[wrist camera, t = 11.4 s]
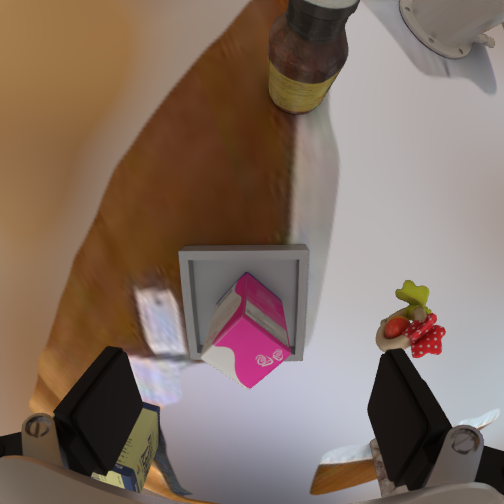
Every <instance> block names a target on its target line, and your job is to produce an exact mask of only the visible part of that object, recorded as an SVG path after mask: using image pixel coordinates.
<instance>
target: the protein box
mask: <svg viewBox="0 0 504 504" xmlns="http://www.w3.org/2000/svg"><path fill="white" fill-rule="evenodd" d="M54 416H55V414H54V415H53V416H52V418H53V417H54ZM159 442H160V407H158V406H154V405H151V404H148V403H144V402H143V409H142V411H141V413H140V415H139V417H138V419H137V421H136V423H135V425H134V427H133V429H132V431H131V434H130V436H129V438H128V440H127V442H126V444H125V446H124V448H123V450H122V452H121V454H120V456H119V458H118V460H117V462H116V464H115V466H114V468H113V470H112V471H109V472H108V474H107V476H106V477H105V476H102V475H99V474H97V473H94V472H93V473H92V475H91V477H92V478H93V479H96V480H99V481H102V482H105V483H108V484H111V485H114V486H117V487H120V488H124V489H127V490H130V491H134V492H138V493H141V492H142V489H143V486H144V483H145V481H146V478H147V475H148V472H149V469H150V466H151V464H152V461H153V458H154V455H155V453H156V450H157V447H158V445H159Z"/></svg>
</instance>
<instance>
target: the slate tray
mask: <svg viewBox="0 0 504 504" xmlns="http://www.w3.org/2000/svg"><path fill="white" fill-rule="evenodd" d="M179 263H180V274H181V285H182V295H183V304H184V313H185V321H186V329H187V337H188V344H189V351H190V358H191V359H196V360H202V359H201V358H200V356H201V353H202V349H203V346H204V343H205V340H206V336H207V333H208V330H209V327H210V324H211V320H212V317H213V314H214V311H215V307H216V303H217V302H218V301H219V300H220V299H221V298H222V297H223V296H224V294H225V293H226V292H227V291H228V290H229V289H230V288H231V287H232V286H233V285H234V284H235V283H236V281H237V280H238V279H239V278H240V277H241V276H242V275H243V274H244V273H245V272H248V273H249V274H251V275H252V276H253V277H254V278H256V279H257V280H258V281H259V282H260V283H261V284H263V285H264V286H265V287H266V288H267V289H269V290H270V291H271V292H272V293H273V294H275V295H276V296H277V297H278V298H279V299H280V300H282V304H283V310H284V315H285V321H286V326H287V332H288V337H289V343H290V349H291V355H290V356H289V357H287V358H286V359H285V360H284V361H303V352H304V339H305V325H306V309H307V290H308V267H309V249H308V248H307V246H306V245H192V246H184V247H183V248H182V249H181V250H179Z"/></svg>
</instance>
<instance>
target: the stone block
mask: <svg viewBox="0 0 504 504" xmlns="http://www.w3.org/2000/svg"><path fill="white" fill-rule="evenodd" d="M370 447H371V452H372V455H373V461H374V464H375V470H376V474H377V478H378V482H379V486H380V491H381V496H382V498H384V497H388V496H393V495H397V494H401V493H405V492H409V490H408V489H407V486H406V485H404V486H400V487H397V488H395V486H394V482H393V481H392V482H390V481H389V479H388V477H387V473H386V470H385V466H384V463H383V460H382V456H381V453H380V450H379V447H378V444H377V440H376V438H375V439H373V440H372V441H370Z"/></svg>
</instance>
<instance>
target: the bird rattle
mask: <svg viewBox="0 0 504 504" xmlns="http://www.w3.org/2000/svg"><path fill="white" fill-rule="evenodd" d="M395 293H396V297H397V298H398V299H400V300H403V301H405V302H407V303H409V304H410V305H409V306H408V307H406V308H403V309H401V310H399V311H397V312H396V313H394V314H392V315H391V316H389V317H388V318H386V319H384V320H382V321H381V326H380V327H379V329H378V331H377V334H376V343H377V346H378V347H379V348H380V350H382V351H383V352H386V350H388V349H396V348H402V349H403V350H404V349H406V348H408V347H409V346H411V350H412V356H413V358H420V357H422V356H424V355H425V354H426V353H431V354H436V355H439V354H440V353H441V352H442V344H441V338H442V337H443V336H444V335H445V333H446V331H445V329H444V327H441V326H439V325H433V324H434V323H435V322H436V321H437V317H436V315H435V314H433V313H431V310H430V309H428V308H427V307H426V306H425V305H426V302H427V299H428V296H429V289H428V288H427V287H425V286H419V287H417V286H416V285H415V284H414V282H412V281H411V280H406V281H405V282H404V284H403V288H402V289H397V290H396V292H395ZM409 320H412V321H413V322H412V323H410V321H409Z"/></svg>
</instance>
